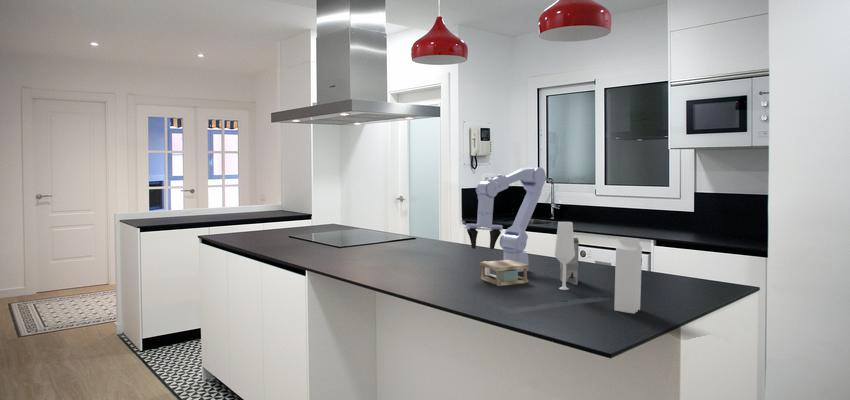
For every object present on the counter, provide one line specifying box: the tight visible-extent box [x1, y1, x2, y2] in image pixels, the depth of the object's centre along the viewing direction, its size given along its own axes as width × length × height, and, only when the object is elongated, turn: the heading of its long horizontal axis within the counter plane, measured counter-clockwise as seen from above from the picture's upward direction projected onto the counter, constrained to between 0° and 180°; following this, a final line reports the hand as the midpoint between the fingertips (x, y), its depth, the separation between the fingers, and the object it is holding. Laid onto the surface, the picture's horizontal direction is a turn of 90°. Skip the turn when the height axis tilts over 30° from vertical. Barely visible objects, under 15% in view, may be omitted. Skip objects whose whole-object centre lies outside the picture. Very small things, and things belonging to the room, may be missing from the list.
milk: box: [613, 236, 643, 314], centre depth 172 cm, size 6×6×22 cm
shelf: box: [479, 259, 530, 287], centre depth 211 cm, size 13×20×8 cm, turn 26°
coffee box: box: [559, 237, 580, 286], centre depth 211 cm, size 9×6×16 cm
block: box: [482, 260, 519, 282], centre depth 212 cm, size 6×18×5 cm, turn 26°
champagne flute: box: [554, 221, 575, 291], centre depth 195 cm, size 7×7×24 cm
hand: (482, 248), depth 217 cm, fingers open, 7 cm apart
